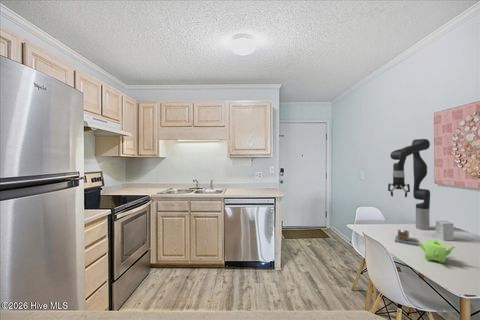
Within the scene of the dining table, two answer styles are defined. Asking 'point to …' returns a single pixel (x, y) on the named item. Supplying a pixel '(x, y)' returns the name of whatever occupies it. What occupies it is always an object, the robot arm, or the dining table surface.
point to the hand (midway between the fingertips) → (398, 196)
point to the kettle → (435, 250)
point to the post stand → (406, 240)
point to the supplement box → (444, 230)
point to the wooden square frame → (403, 234)
